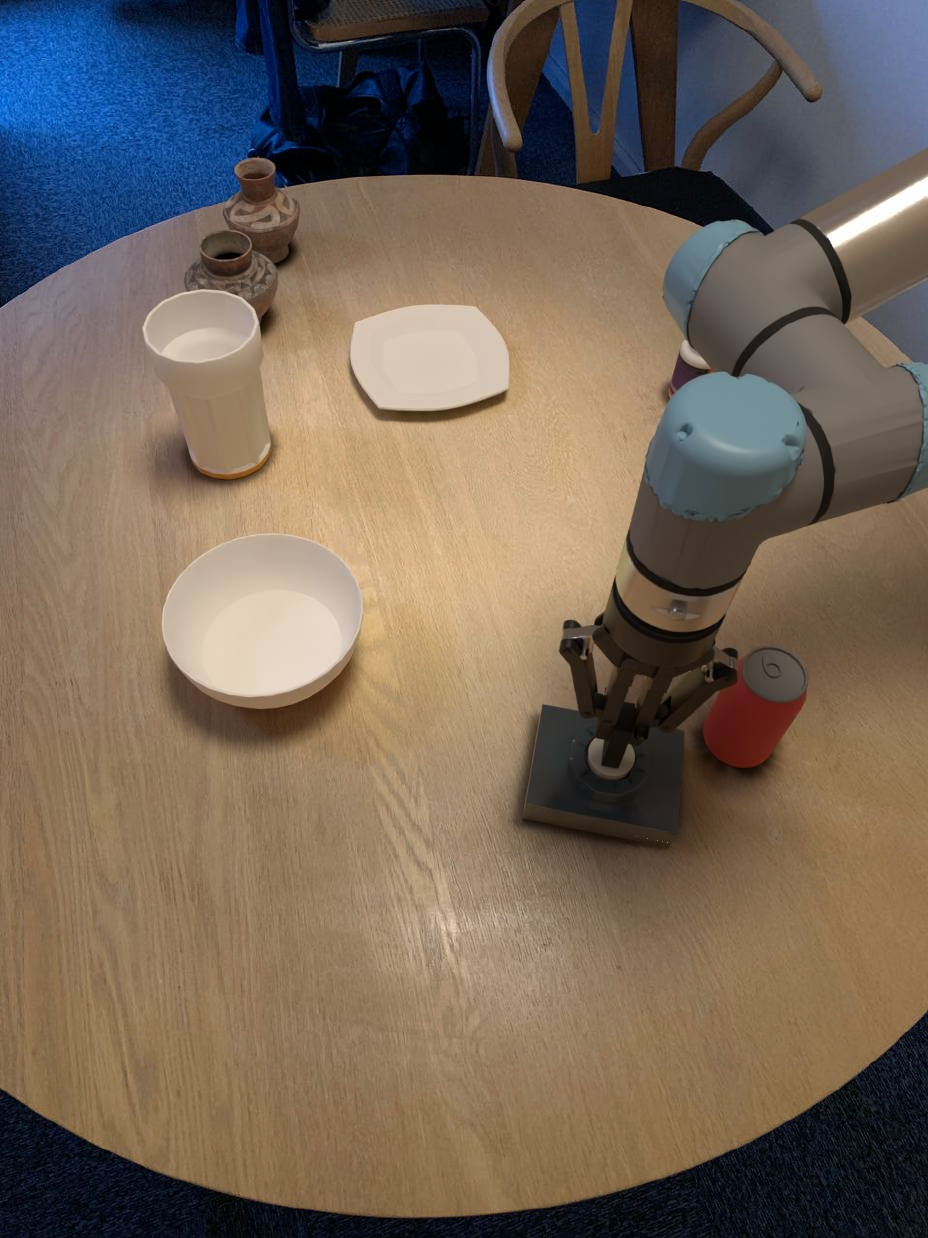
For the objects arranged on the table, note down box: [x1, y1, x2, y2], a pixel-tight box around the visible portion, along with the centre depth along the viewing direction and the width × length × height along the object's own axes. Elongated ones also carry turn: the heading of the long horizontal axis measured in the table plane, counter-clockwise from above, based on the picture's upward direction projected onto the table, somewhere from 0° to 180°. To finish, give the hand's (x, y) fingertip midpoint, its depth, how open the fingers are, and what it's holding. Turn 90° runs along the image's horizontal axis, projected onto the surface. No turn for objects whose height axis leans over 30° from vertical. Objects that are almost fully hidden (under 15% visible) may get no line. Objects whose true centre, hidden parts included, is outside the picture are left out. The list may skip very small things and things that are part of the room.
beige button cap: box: [585, 738, 635, 782], centre depth 81 cm, size 4×4×2 cm
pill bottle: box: [668, 338, 715, 399], centre depth 110 cm, size 5×5×10 cm
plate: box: [349, 304, 511, 412], centre depth 114 cm, size 19×19×2 cm
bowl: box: [161, 532, 365, 710], centre depth 88 cm, size 18×18×7 cm
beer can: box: [702, 644, 810, 769], centre depth 82 cm, size 7×7×12 cm
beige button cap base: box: [522, 703, 685, 848], centre depth 82 cm, size 13×10×5 cm
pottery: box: [183, 157, 301, 325], centre depth 118 cm, size 11×25×12 cm, turn 173°
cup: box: [141, 289, 273, 480], centre depth 99 cm, size 11×11×17 cm
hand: (611, 752), depth 80 cm, fingers closed
